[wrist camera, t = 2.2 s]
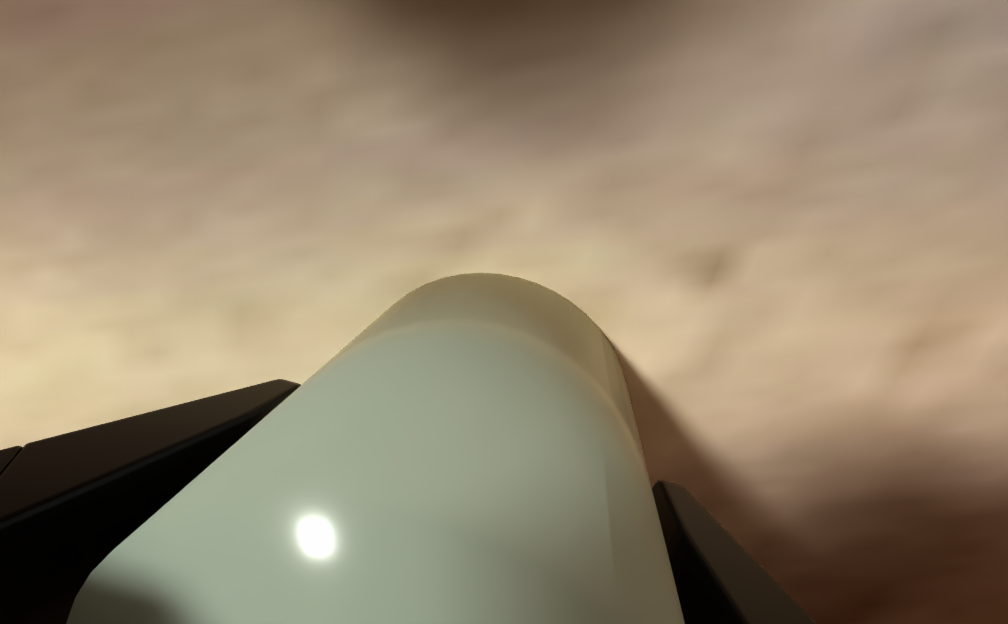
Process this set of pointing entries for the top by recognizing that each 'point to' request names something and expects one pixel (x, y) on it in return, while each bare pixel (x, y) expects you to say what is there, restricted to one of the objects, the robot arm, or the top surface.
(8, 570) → the robot arm
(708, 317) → the top surface
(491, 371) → the grey-green rounded piece
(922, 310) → the top surface
